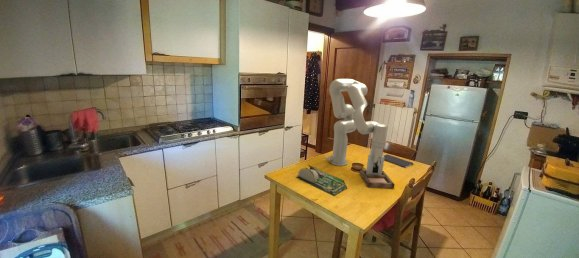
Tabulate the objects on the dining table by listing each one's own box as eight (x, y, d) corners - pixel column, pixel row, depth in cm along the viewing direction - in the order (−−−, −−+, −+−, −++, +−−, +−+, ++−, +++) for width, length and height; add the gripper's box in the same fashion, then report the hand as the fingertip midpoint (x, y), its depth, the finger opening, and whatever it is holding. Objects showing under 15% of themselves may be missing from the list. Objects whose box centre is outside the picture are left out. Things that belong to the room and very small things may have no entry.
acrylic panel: (366, 178, 151) (369, 156, 147) (365, 176, 154) (368, 154, 150) (380, 179, 151) (384, 157, 147) (379, 177, 154) (382, 155, 150)
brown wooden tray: (367, 188, 139) (368, 182, 138) (359, 174, 156) (360, 169, 155) (393, 189, 139) (394, 184, 138) (382, 175, 156) (383, 170, 155)
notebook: (378, 159, 186) (405, 168, 170) (378, 157, 186) (405, 166, 170) (387, 156, 194) (413, 165, 178) (387, 154, 194) (413, 163, 178)
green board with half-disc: (291, 164, 149) (312, 157, 163) (291, 176, 151) (311, 167, 165) (335, 184, 127) (354, 173, 141) (333, 197, 129) (353, 185, 143)
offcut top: (371, 185, 141) (371, 183, 140) (367, 180, 147) (367, 177, 147) (388, 186, 141) (388, 183, 141) (383, 180, 148) (383, 178, 147)
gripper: (368, 139, 154) (364, 165, 159) (376, 148, 139) (372, 177, 143) (379, 140, 154) (375, 166, 159) (389, 148, 139) (384, 177, 143)
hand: (374, 171), depth 151 cm, fingers closed on acrylic panel, 3 cm apart
